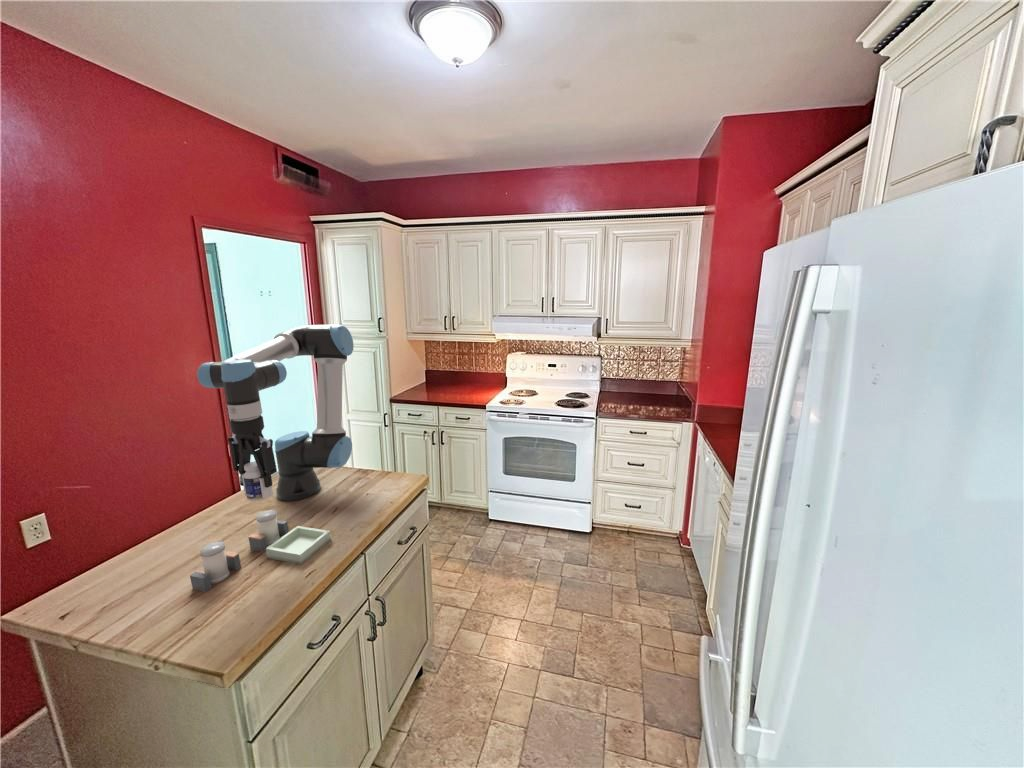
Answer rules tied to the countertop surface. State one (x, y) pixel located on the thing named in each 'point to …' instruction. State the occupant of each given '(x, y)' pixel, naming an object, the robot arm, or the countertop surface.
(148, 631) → the countertop surface
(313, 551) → the tray
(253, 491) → the pill bottle
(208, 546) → the white rounded cylinder
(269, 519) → the fuse
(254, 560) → the countertop surface
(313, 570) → the countertop surface
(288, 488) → the robot arm
